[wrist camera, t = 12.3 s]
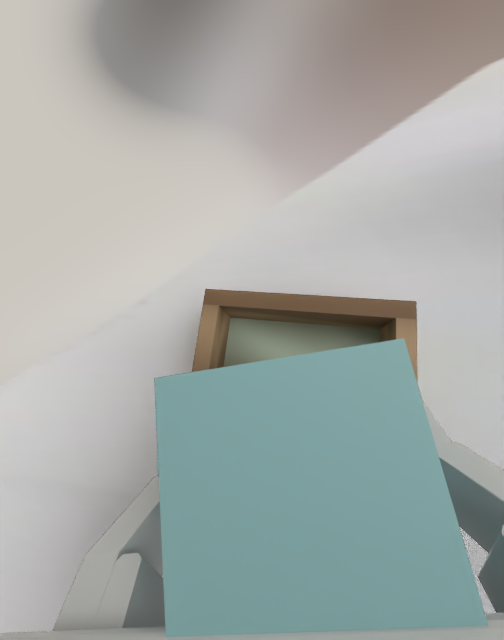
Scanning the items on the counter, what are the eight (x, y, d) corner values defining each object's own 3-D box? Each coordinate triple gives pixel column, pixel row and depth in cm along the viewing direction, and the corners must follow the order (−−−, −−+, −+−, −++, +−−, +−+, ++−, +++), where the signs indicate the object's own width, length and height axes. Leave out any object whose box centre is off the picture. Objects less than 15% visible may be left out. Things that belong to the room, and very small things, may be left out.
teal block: (332, 371, 14) (404, 338, 5) (352, 467, 13) (507, 688, 3) (247, 384, 15) (154, 378, 5) (260, 476, 14) (168, 692, 4)
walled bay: (221, 305, 20) (205, 288, 17) (394, 317, 18) (416, 301, 15) (194, 481, 18) (169, 504, 14) (392, 521, 16) (419, 559, 12)
